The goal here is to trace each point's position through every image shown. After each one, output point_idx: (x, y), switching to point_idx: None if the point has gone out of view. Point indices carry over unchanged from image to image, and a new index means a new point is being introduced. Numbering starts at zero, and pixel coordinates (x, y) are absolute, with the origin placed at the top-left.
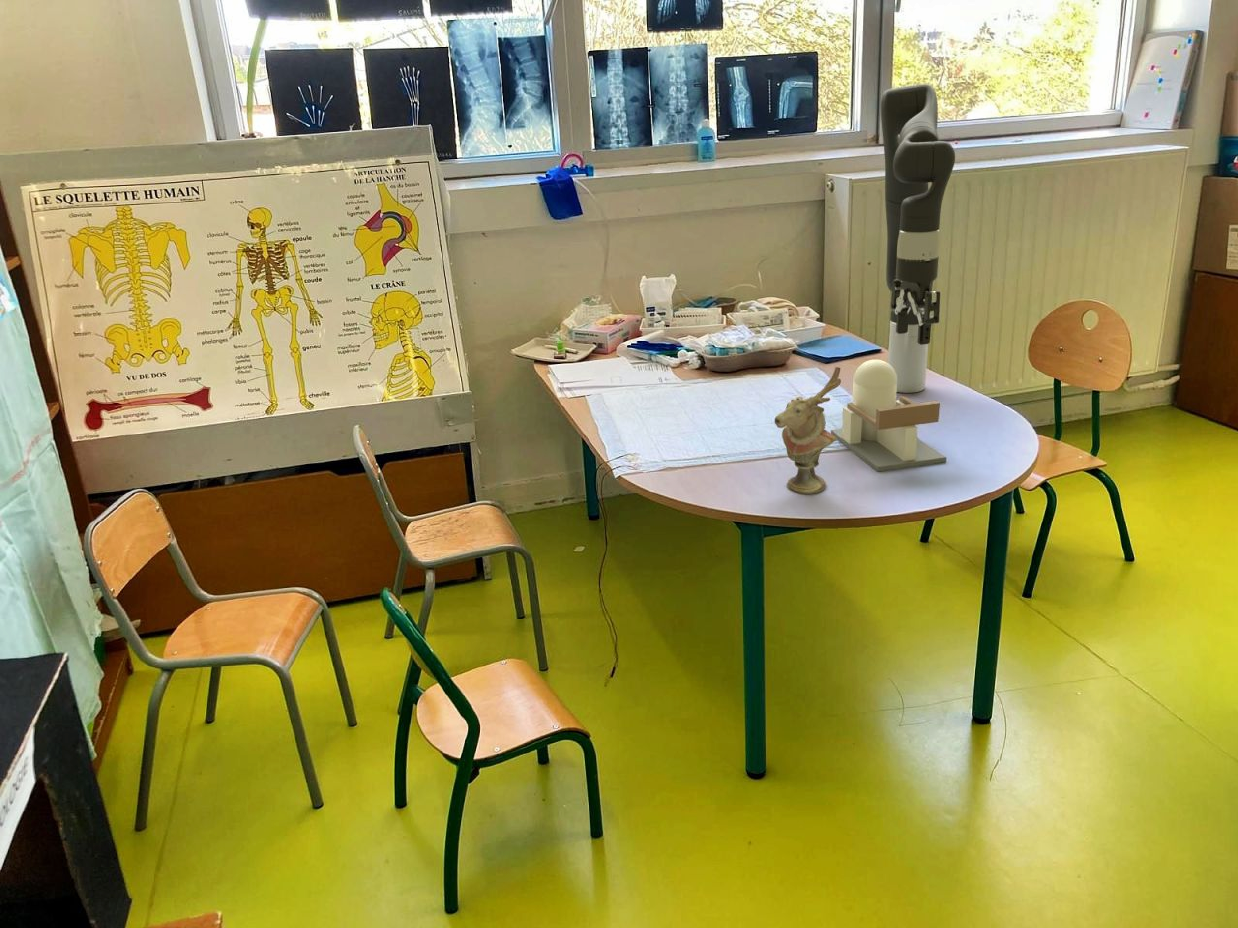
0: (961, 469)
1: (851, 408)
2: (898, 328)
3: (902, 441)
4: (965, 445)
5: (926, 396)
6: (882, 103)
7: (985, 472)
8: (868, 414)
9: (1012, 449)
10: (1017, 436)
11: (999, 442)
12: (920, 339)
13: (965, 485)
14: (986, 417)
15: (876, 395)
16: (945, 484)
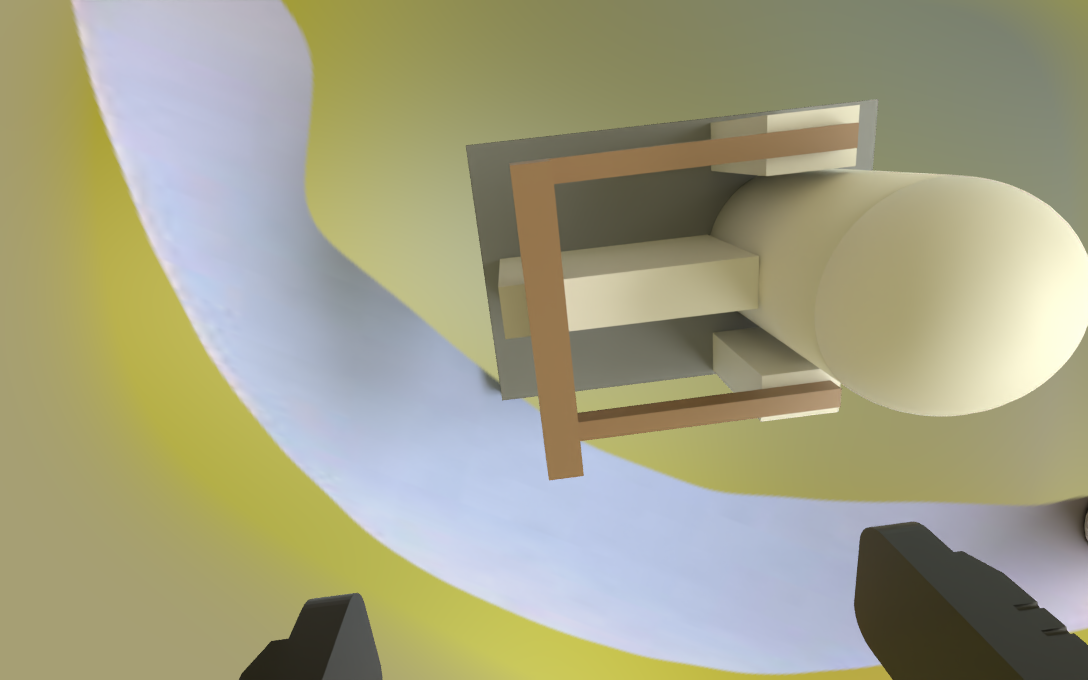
0: (434, 413)
1: (805, 128)
2: (913, 575)
3: (521, 270)
4: (613, 492)
5: (1036, 535)
6: None
7: (400, 466)
8: (669, 169)
9: (549, 589)
10: (635, 633)
11: (608, 579)
12: (294, 654)
13: (310, 378)
14: (798, 617)
15: (801, 259)
16: (325, 326)
